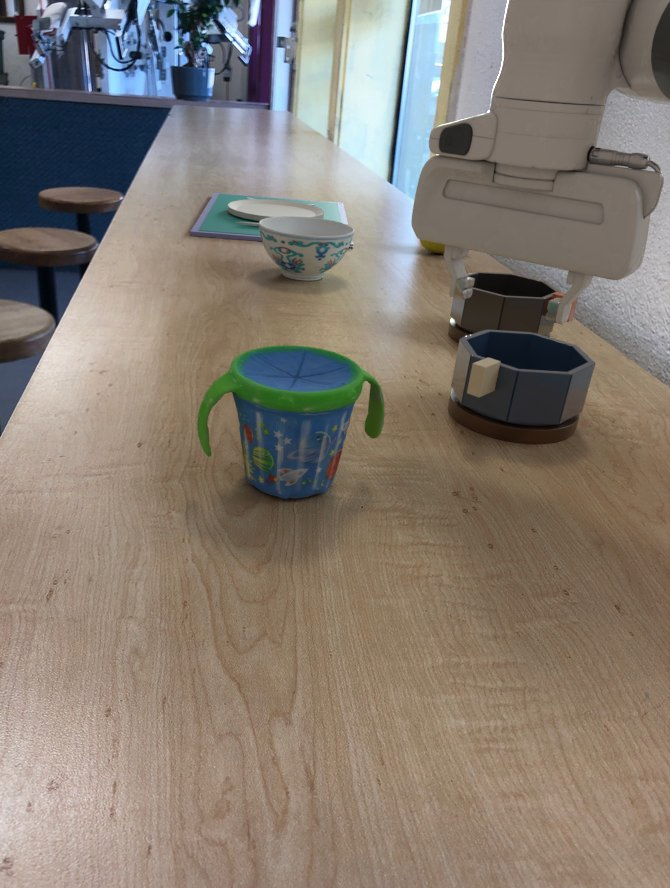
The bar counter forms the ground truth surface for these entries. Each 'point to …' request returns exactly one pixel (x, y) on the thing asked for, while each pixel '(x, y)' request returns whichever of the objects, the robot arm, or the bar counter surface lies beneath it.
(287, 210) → the place mat
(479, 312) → the dark grey octagonal pot
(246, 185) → the bar counter surface
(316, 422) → the snack cup
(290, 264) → the chinaware
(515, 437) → the disc
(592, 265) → the robot arm
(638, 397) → the bar counter surface
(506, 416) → the slate bowl
